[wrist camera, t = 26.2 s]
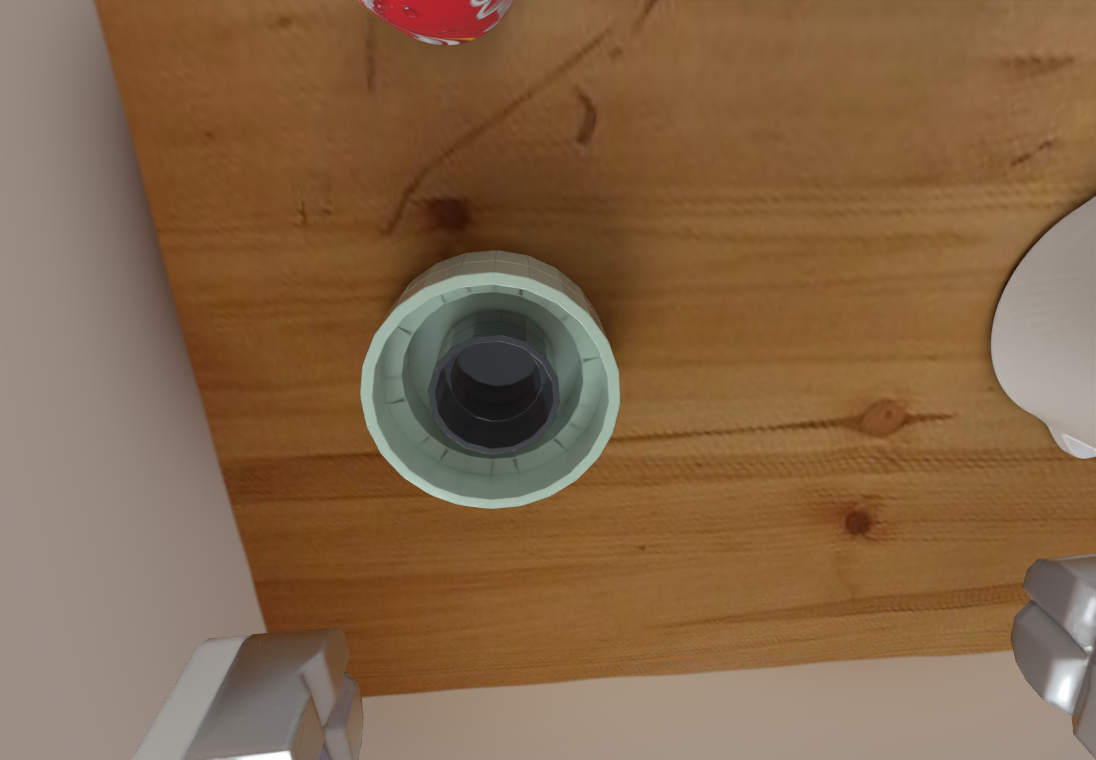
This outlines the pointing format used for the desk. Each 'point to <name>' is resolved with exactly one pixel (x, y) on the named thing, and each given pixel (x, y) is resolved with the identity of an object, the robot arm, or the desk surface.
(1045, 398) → the robot arm
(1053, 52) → the desk surface
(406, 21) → the soda can
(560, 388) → the celadon bowl
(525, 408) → the charcoal cup
